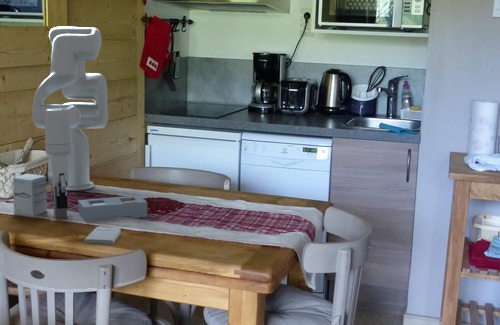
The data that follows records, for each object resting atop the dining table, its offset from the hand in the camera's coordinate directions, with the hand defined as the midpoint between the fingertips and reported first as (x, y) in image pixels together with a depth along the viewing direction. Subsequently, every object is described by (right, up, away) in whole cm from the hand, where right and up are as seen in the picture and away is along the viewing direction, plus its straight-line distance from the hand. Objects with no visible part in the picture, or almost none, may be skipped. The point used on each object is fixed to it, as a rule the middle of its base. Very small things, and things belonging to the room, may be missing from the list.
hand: (60, 204), depth 206 cm
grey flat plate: (0, -5, +1) cm, 5 cm away
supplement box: (-11, -4, +5) cm, 12 cm away
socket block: (+15, -4, +6) cm, 17 cm away
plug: (0, -4, +1) cm, 4 cm away
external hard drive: (+17, -9, -14) cm, 24 cm away
